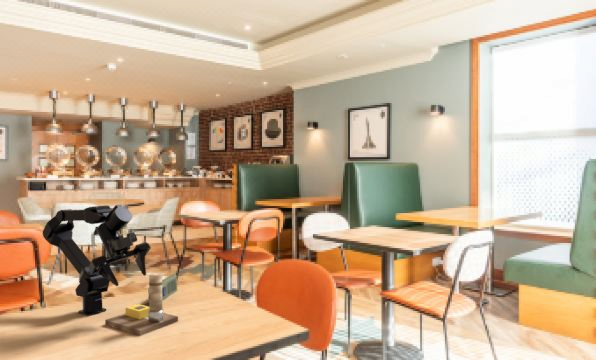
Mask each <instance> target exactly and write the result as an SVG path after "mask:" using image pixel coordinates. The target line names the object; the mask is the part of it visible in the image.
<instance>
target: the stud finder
mask: <svg viewBox="0 0 596 360" xmlns="http://www.w3.org/2000/svg"><path fill="white" fill-rule="evenodd" d="M144 305H145V304H139V303H135V304H132V305H130V306H126V307H125V308H124V309H125V310H124V311H125V313H126V316H130V317H133V318H137V319H142V318H145V317H148V311H149V307H148V306H144ZM125 313H124V314H125Z"/></svg>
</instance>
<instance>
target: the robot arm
mask: <svg viewBox="0 0 596 360" xmlns="http://www.w3.org/2000/svg"><path fill="white" fill-rule="evenodd" d="M132 219H133V213H132V211H130V210H129V209H128V208H126V207H123V206H122V204H115V206H114V207H113V208H111V206H109V205H97V206H89V207H86V208H83V209H71V208H70V209H60V210H58V211H57V212H56V214H55V216H54V217H52V218H51V219H49V220H48V221H47V222H46V224H45V226H44V228H43V230H42V237H43V238H44V239H45V241H46V242H47V243H48V244H50V245H51V246H54V247H56V248H59V249H60V250H61V252H62V253H63V255H64V256H65V257H66V259H67V260H68V261H69V262H70V263H71V266H73V268H74V269H75V270H76V272H77V273H78V274H79V276H78V277H79V279H78V283H79V284H78V285H77V286H76V288H75V290H74V291H75V295H76V296H77V297H80V298H82V309H80V310H77V311H78V313H79V314H83V315H86V316H92V315H96V314H98V313H102V312H106V311H107V308H105V307H103V293H104V292H108V290H109V285H110V283H112V284H113V285H114V286H116V287H119V282H118V279H117V278H116V275H115V274H114V272H113V270H112V269H111V265H110V264H113V263H116V262H119V261H122V260H126V259H127V258H132V257H134V258H135V263H136V265H137V268H138V269H139V270H140V273H141V274H142V275H143V276H145V277H146V275H147V269H146V268H147V267H146V257H147V255H148V254H149V252H150V250H151V249H152V248H151V245H150V243H148V242H146V241H145V242H144V241H143V242H141V243H139V244H136V245H135V246H134V243H135V242H138V237H137V235H136V234H135V232H134V231H132V232H129V233H127V234H126V236H125V237H124V235H121V234H120V232H119V231H122V230H123V229H124V228H125V227H127V225H128V224H129V223H130V222H131V221H132ZM74 221H76V222H77V221H78V222H79V221H84V223H86V224H91V225H95V224H96V225H97V224H99V225H98V226H95V227H94V231H93V236H97V235H98V236H99V238H100V240H101V242H102V245H103V250H104V251H106V252H107V255H108V257H106V256H105V255H101V256H98V257H95V258H92V260H89V258H88V257H87V256H86V254H85V252H83V250H82V249H81V248H80V247H79V246H78V244H77V243H76V242H75V241H74V239H73V230H74V228H75V224H74ZM62 222H65V223H62ZM132 246H134V248H133V249H131V247H132ZM130 249H131V250H130Z"/></svg>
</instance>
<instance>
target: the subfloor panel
mask: <svg viewBox="0 0 596 360" xmlns="http://www.w3.org/2000/svg"><path fill="white" fill-rule="evenodd" d="M178 321H179V316H177V315H174V314H173V315H172V314H168V313H166V312H163V321H161V322H156V323H152V322H149V321H148V317H145V318H142V319H137V318H133V317H130V316H126V313H122V314H119V315H116V316H113V317H109V318H106V319H104V324H105V325H106V326H109V327H112V328H114V329H118V330H121V331H124V332H128V333H131V334H134V335H137V336H143V335H146V334H148V333H151V332H154V331H156V330H159V329H162V328H165V327H167V326H169V325H173V324H175V323H177V322H178Z"/></svg>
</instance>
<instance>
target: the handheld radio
mask: <svg viewBox="0 0 596 360" xmlns="http://www.w3.org/2000/svg"><path fill="white" fill-rule="evenodd" d="M177 278H178V276H177V274H171V275H169V276H167V277H165V278H162V301H163V300H165V299H167V298H168V297H170V296H171V295H173V294H174V293H176V292H177V291H178V280H177ZM147 289H148V293H147V294H148V295H149V287H148V288H147ZM148 299H149V296H148ZM143 305H144V306H148V307H149V302H147V303H145V304H143Z"/></svg>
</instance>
